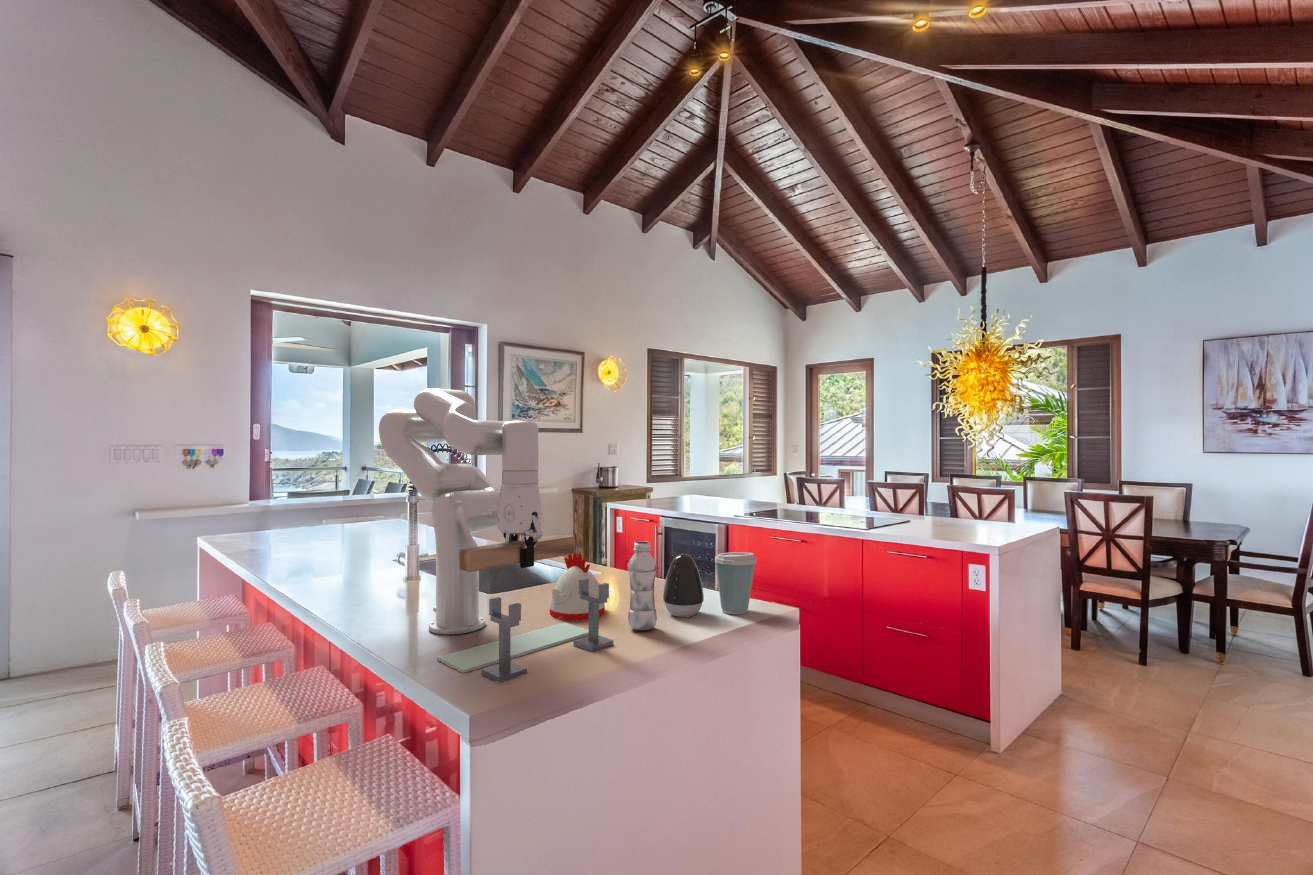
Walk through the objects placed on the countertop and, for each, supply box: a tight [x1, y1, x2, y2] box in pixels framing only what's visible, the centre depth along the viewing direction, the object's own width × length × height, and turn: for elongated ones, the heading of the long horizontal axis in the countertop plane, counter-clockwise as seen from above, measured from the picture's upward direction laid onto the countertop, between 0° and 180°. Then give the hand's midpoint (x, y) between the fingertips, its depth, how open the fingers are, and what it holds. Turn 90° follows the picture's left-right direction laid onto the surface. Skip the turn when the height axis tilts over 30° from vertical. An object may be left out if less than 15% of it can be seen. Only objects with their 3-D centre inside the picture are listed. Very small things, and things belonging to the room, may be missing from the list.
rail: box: [459, 534, 575, 572], centre depth 129 cm, size 4×26×4 cm, turn 137°
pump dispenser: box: [662, 553, 705, 618], centre depth 153 cm, size 10×10×15 cm
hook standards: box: [481, 578, 615, 684], centre depth 122 cm, size 7×28×14 cm, turn 137°
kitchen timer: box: [549, 552, 606, 621], centre depth 155 cm, size 14×14×15 cm
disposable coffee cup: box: [714, 551, 757, 615], centre depth 156 cm, size 11×11×15 cm
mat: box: [436, 622, 589, 674], centre depth 129 cm, size 10×32×1 cm, turn 137°
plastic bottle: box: [627, 540, 658, 631], centre depth 141 cm, size 6×7×20 cm
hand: (520, 564), depth 129 cm, fingers closed on rail, 4 cm apart
